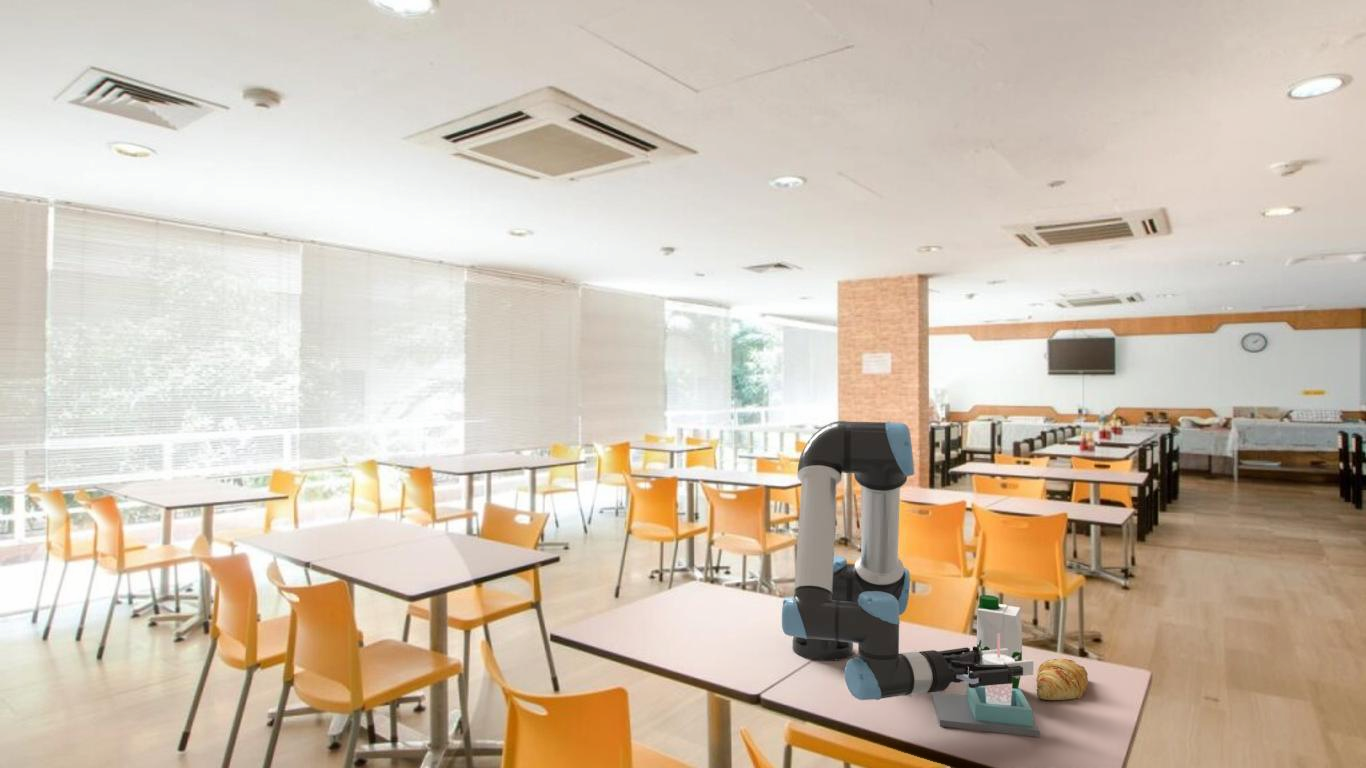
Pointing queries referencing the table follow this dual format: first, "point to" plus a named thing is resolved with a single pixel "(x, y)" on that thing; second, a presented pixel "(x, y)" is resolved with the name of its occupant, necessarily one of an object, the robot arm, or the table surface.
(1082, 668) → the croissant
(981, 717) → the dock
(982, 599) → the milk carton
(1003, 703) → the beverage cup
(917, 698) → the table surface
